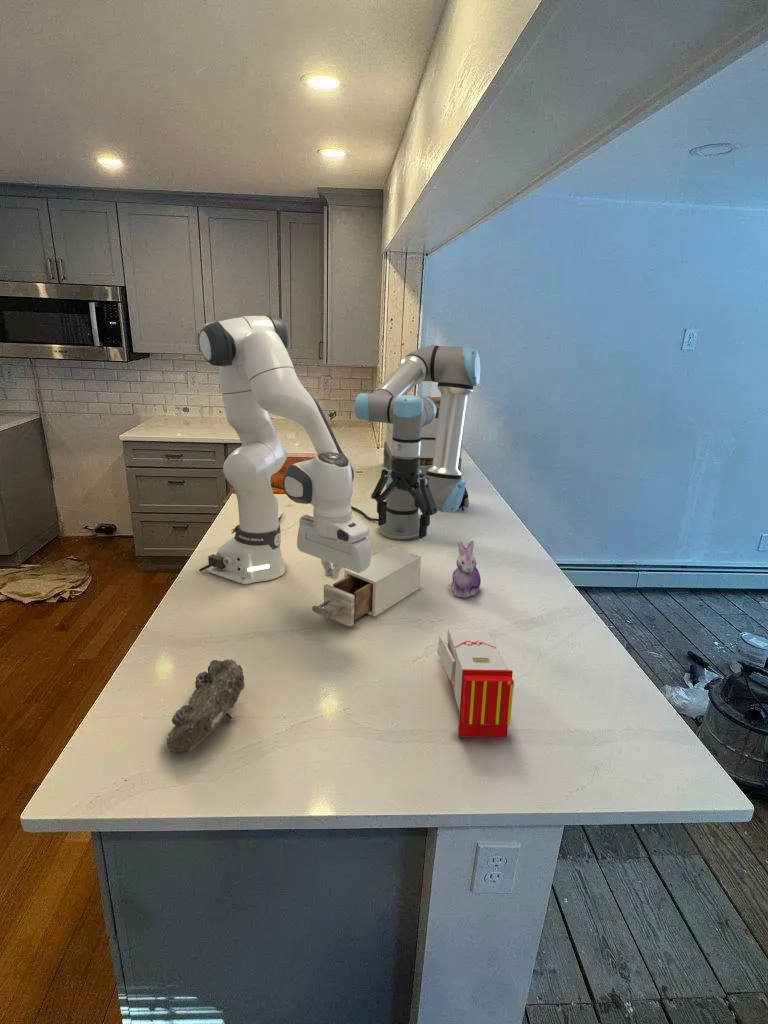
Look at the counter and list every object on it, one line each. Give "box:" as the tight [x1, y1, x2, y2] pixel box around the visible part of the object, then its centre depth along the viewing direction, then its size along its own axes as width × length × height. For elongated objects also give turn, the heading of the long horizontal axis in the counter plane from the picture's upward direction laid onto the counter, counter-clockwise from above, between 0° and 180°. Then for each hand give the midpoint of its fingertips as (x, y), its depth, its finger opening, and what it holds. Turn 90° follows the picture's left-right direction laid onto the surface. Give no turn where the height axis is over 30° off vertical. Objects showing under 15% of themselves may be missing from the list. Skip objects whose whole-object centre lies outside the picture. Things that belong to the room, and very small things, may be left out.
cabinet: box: [344, 546, 422, 617], centre depth 155 cm, size 21×10×10 cm, turn 143°
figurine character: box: [458, 486, 470, 512], centre depth 229 cm, size 7×8×15 cm
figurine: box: [450, 540, 482, 599], centre depth 158 cm, size 9×10×15 cm
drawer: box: [311, 575, 373, 627], centre depth 145 cm, size 25×9×8 cm, turn 143°
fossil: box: [166, 658, 245, 754], centre depth 106 cm, size 22×10×15 cm
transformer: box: [383, 393, 465, 472], centre depth 268 cm, size 34×33×41 cm
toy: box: [437, 628, 515, 738], centre depth 117 cm, size 12×13×30 cm
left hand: (331, 577), depth 135 cm, fingers closed
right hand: (401, 530), depth 156 cm, fingers open, 13 cm apart
